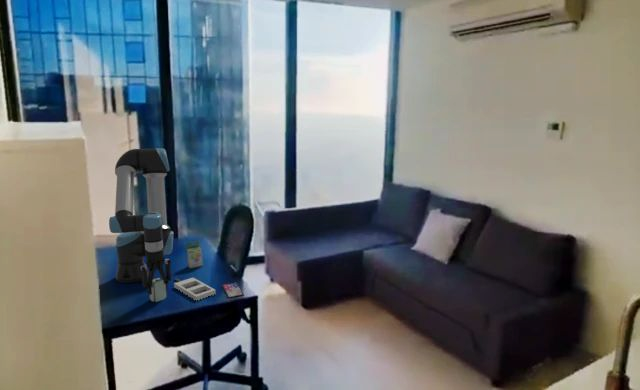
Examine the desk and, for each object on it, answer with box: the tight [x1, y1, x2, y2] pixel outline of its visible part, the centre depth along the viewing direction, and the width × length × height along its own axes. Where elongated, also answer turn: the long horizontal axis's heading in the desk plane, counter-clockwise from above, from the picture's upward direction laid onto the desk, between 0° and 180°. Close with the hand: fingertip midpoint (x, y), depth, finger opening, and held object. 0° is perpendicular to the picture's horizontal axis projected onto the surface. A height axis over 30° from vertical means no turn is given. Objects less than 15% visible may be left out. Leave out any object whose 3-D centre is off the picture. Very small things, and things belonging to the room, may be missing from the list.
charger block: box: [152, 277, 166, 303], centre depth 203 cm, size 4×4×9 cm
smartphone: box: [221, 282, 245, 299], centre depth 213 cm, size 8×1×15 cm
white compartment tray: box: [173, 277, 217, 302], centre depth 215 cm, size 28×10×2 cm, turn 45°
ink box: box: [186, 240, 204, 269], centre depth 240 cm, size 7×4×13 cm, turn 120°
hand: (158, 298), depth 204 cm, fingers open, 5 cm apart
